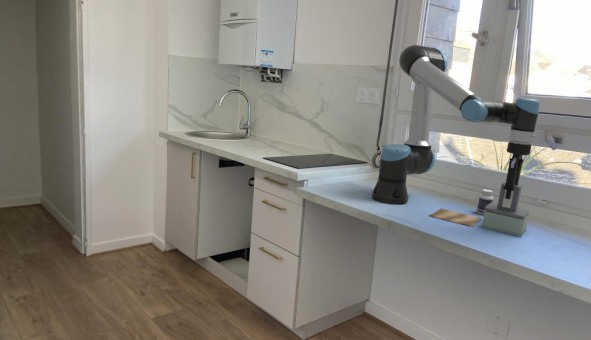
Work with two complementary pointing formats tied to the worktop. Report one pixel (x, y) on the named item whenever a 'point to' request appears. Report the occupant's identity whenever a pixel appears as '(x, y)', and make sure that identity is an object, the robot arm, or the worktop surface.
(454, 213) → the plate
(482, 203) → the pill bottle
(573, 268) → the worktop surface
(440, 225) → the worktop surface
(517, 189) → the lid
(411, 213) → the worktop surface
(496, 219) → the sage green block
